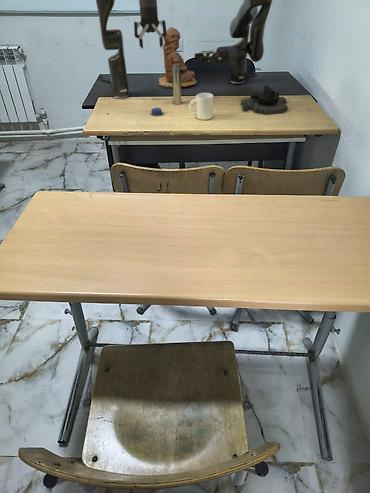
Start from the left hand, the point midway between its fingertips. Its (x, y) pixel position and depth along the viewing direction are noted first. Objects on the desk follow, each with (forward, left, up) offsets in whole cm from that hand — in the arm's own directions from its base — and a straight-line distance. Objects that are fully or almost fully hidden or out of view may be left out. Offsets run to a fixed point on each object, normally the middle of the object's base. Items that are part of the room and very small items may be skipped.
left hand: (151, 47), depth 164 cm
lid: (0, 0, -28) cm, 29 cm away
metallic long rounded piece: (-10, +16, -30) cm, 36 cm away
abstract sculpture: (+20, +53, -30) cm, 64 cm away
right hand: (-8, +28, -9) cm, 30 cm away
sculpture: (-44, +32, -30) cm, 62 cm away
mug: (+16, +17, -30) cm, 38 cm away
